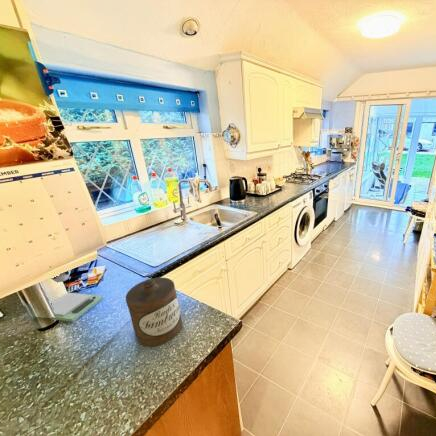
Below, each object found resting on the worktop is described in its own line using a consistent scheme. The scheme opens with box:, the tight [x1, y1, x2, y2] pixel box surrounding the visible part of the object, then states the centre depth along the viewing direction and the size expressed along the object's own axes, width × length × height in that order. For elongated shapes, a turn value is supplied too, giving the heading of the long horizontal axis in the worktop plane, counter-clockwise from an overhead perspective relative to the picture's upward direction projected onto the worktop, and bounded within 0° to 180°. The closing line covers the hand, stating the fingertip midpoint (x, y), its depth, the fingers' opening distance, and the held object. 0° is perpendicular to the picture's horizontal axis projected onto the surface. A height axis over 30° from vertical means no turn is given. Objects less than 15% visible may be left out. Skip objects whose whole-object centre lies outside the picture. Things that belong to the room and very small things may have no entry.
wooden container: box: [125, 277, 183, 348], centre depth 83 cm, size 15×15×22 cm
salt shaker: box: [50, 270, 71, 283], centre depth 91 cm, size 6×6×13 cm
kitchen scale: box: [50, 291, 104, 323], centre depth 94 cm, size 16×13×4 cm
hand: (60, 275), depth 90 cm, fingers closed on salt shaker, 3 cm apart
